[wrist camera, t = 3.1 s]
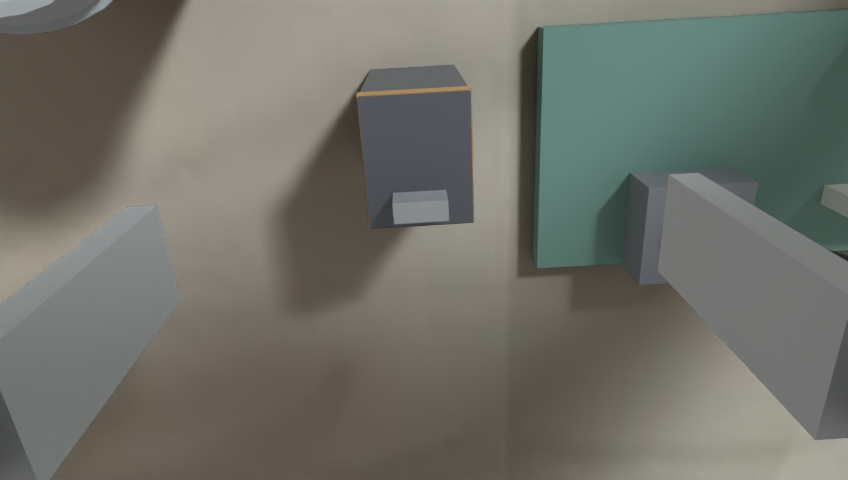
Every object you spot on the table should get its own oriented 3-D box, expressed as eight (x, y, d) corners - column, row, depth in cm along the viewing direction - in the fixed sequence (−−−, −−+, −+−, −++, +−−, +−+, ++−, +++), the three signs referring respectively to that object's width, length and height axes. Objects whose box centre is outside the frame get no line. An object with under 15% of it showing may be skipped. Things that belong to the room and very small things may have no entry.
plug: (369, 68, 28) (352, 101, 19) (454, 63, 28) (475, 94, 19) (377, 171, 30) (366, 242, 21) (457, 166, 30) (478, 235, 21)
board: (538, 26, 27) (560, 32, 23) (1004, 0, 27) (1103, 1, 23) (532, 259, 32) (550, 295, 28) (930, 235, 32) (1002, 268, 28)
